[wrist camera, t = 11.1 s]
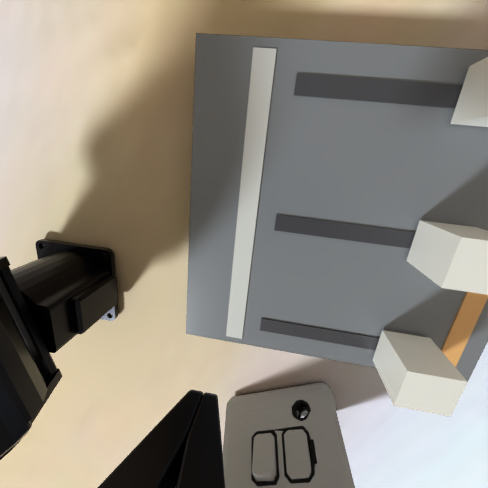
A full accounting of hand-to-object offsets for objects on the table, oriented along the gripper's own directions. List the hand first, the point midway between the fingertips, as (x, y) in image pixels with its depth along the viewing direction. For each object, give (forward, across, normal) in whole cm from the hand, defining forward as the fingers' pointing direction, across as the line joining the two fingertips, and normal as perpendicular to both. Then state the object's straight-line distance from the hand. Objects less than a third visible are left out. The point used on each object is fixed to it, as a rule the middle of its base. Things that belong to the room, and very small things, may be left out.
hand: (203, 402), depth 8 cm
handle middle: (+10, -11, -4) cm, 15 cm away
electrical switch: (+12, -5, +14) cm, 19 cm away
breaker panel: (+12, -6, -4) cm, 14 cm away
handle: (+10, -11, +4) cm, 15 cm away
